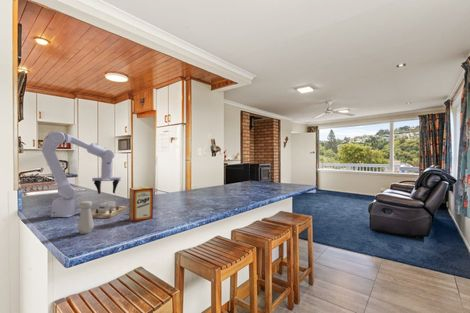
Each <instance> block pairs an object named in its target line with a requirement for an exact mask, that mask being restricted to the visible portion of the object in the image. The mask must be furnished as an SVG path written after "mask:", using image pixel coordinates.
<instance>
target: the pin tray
mask: <svg viewBox="0 0 470 313" xmlns="http://www.w3.org/2000/svg"><path fill="white" fill-rule="evenodd" d="M126 211H128V206H127V205H126V206H123V205H122V206H121V205H119V206H118V205H115V210H114V211H112V209H110V210H109V213H107V214H98V208H96V209H93V210H91V213H92V218H95V219H111V218H113V217H114V218H115V216H118V215H120V214H122V213H124V212H126Z"/></svg>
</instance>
